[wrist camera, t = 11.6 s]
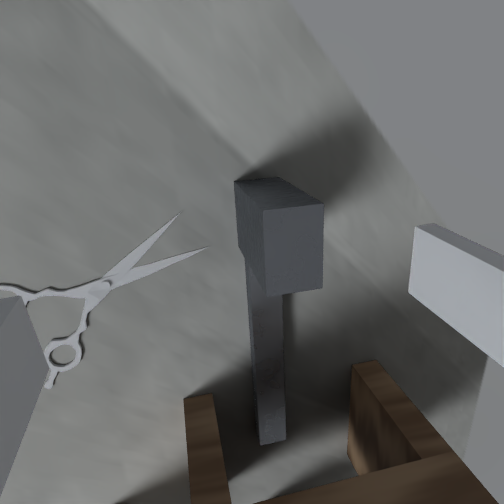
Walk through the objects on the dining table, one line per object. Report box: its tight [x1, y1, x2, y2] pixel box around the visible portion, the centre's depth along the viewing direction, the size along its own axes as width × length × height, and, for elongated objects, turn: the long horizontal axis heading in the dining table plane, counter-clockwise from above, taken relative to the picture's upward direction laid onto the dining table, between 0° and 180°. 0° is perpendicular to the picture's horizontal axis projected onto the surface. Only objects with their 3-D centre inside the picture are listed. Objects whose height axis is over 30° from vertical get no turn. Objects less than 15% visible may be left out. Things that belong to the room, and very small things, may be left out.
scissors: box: [0, 212, 207, 389], centre depth 33 cm, size 11×1×20 cm
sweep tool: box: [234, 177, 324, 446], centre depth 33 cm, size 29×4×10 cm, turn 3°
